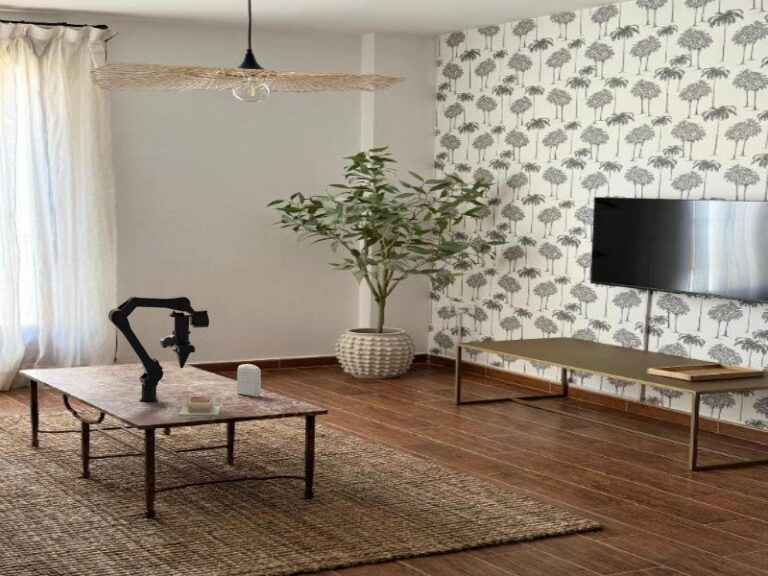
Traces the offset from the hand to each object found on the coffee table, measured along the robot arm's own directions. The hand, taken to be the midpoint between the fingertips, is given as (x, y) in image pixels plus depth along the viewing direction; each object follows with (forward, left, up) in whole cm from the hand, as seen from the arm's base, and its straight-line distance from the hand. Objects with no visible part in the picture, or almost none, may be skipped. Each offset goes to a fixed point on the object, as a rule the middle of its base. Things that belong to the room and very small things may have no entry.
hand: (181, 367), depth 449 cm
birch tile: (+18, +9, -10) cm, 22 cm away
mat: (+26, +9, -12) cm, 30 cm away
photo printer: (-8, +26, -12) cm, 30 cm away
